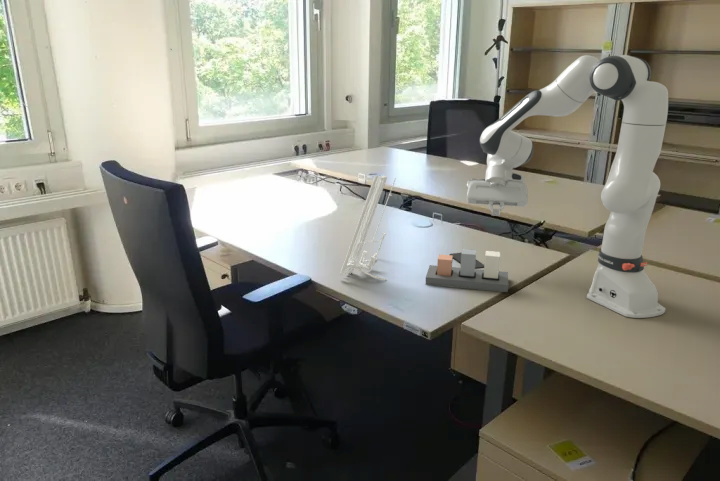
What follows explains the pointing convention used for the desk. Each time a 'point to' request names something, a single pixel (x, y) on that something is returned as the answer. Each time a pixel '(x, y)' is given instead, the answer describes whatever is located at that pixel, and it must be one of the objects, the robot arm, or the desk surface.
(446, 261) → the key terracotta
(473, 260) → the key slate
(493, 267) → the key ivory
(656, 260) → the desk surface
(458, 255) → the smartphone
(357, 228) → the white display easel
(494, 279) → the keypad base
